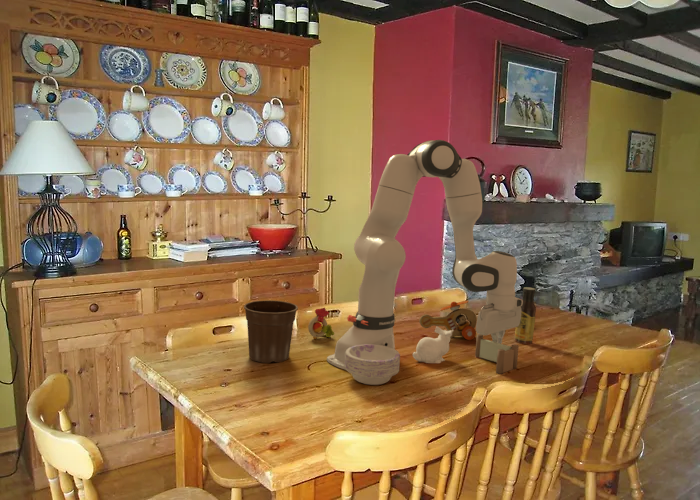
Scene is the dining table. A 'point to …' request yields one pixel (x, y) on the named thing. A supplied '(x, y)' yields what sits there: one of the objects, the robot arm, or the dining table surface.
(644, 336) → the dining table surface
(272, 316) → the plant pot
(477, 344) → the sage gate panel
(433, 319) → the toy helicopter
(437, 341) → the rabbit
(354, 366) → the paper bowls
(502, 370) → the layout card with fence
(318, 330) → the bird rattle
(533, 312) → the sauce bottle
